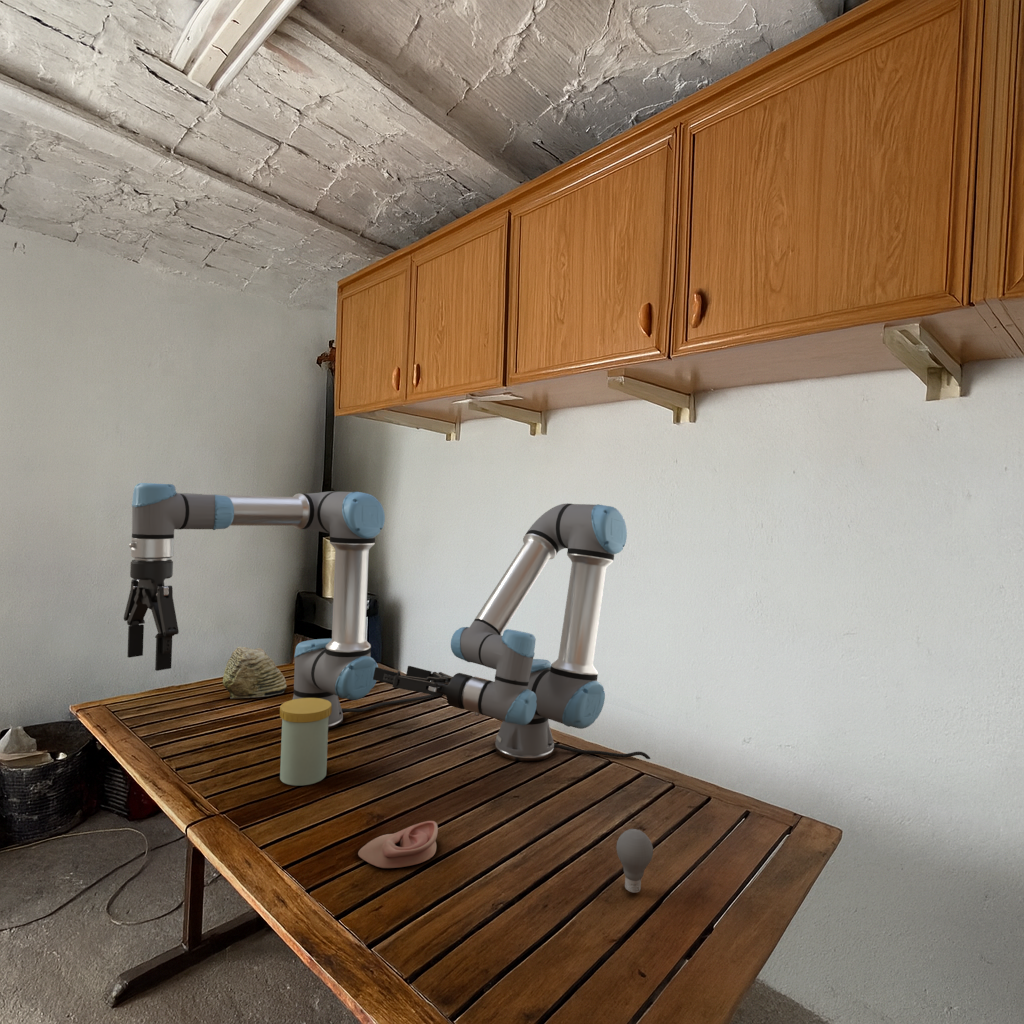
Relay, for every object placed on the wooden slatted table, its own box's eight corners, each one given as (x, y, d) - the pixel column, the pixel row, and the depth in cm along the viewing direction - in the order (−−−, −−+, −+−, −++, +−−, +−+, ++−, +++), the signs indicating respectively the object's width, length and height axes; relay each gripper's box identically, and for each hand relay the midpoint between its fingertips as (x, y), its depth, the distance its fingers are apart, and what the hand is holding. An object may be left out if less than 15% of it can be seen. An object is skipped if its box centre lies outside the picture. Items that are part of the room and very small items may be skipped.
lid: (310, 702, 151) (310, 694, 151) (341, 713, 144) (342, 704, 144) (269, 714, 142) (269, 705, 142) (300, 726, 135) (301, 717, 135)
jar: (307, 762, 150) (310, 697, 150) (335, 774, 145) (338, 706, 144) (270, 776, 142) (273, 707, 142) (298, 790, 136) (301, 718, 136)
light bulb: (610, 879, 108) (613, 822, 108) (644, 879, 109) (647, 822, 109) (619, 902, 102) (622, 840, 102) (655, 901, 103) (658, 840, 103)
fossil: (218, 695, 195) (220, 647, 195) (278, 685, 208) (279, 640, 207) (228, 703, 189) (230, 653, 188) (289, 692, 201) (290, 645, 201)
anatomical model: (350, 840, 110) (378, 809, 121) (349, 863, 110) (377, 829, 121) (423, 852, 107) (444, 819, 118) (422, 875, 107) (443, 840, 118)
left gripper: (108, 554, 134) (104, 654, 134) (159, 565, 118) (155, 678, 119) (146, 552, 140) (143, 648, 140) (199, 563, 124) (195, 671, 124)
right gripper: (437, 715, 131) (356, 691, 140) (490, 705, 153) (416, 685, 162) (444, 678, 131) (363, 657, 141) (495, 674, 154) (422, 655, 163)
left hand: (148, 662), depth 129 cm, fingers open, 13 cm apart
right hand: (391, 672), depth 151 cm, fingers open, 13 cm apart
